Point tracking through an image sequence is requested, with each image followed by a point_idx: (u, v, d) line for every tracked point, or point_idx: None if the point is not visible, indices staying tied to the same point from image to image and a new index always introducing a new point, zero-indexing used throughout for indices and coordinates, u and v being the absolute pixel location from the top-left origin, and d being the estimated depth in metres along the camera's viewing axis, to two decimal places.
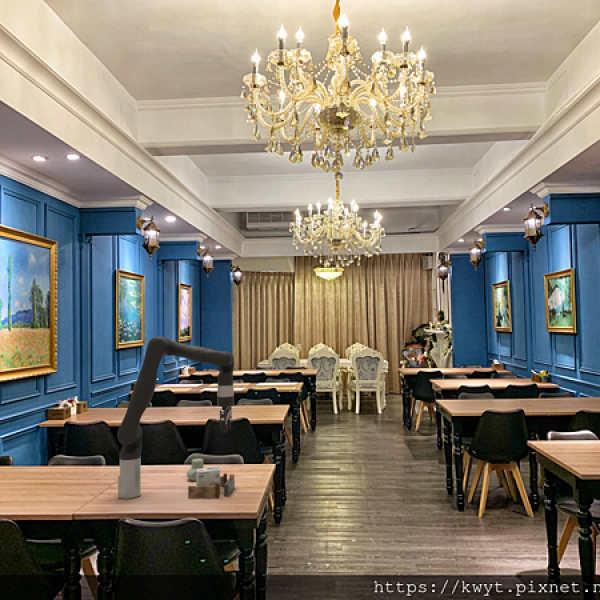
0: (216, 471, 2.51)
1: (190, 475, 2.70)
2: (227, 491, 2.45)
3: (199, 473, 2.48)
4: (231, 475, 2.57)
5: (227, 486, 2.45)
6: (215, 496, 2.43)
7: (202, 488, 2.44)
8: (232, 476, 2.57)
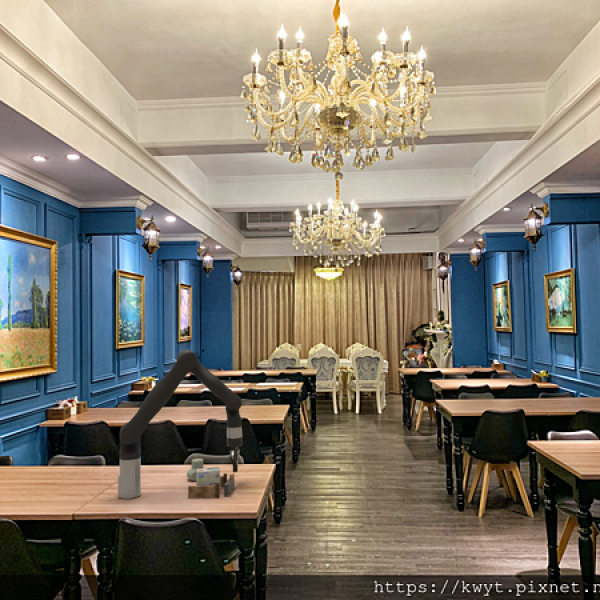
0: (216, 471, 2.51)
1: (190, 475, 2.70)
2: (227, 491, 2.45)
3: (199, 473, 2.48)
4: (231, 475, 2.57)
5: (227, 486, 2.45)
6: (215, 496, 2.43)
7: (202, 488, 2.44)
8: (232, 476, 2.57)
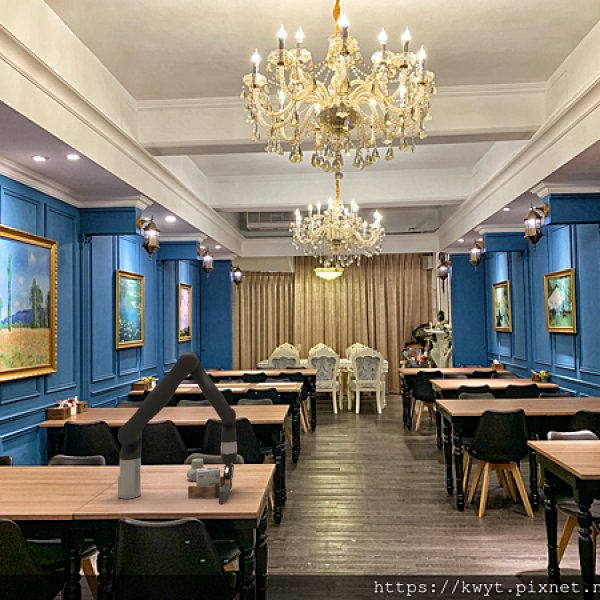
0: (216, 471, 2.51)
1: (190, 475, 2.70)
2: (222, 498, 2.34)
3: (199, 473, 2.48)
4: (226, 481, 2.47)
5: (222, 493, 2.35)
6: (215, 496, 2.43)
7: (202, 488, 2.44)
8: (227, 482, 2.47)
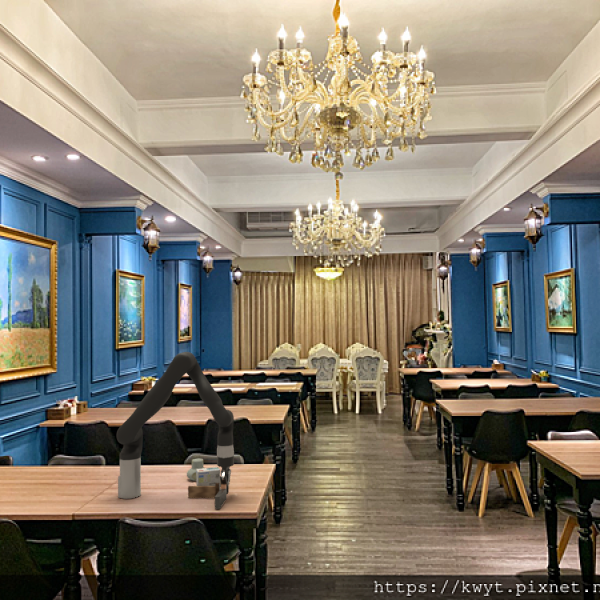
0: (216, 471, 2.51)
1: (190, 475, 2.70)
2: (218, 504, 2.27)
3: (199, 473, 2.48)
4: (223, 486, 2.39)
5: (218, 498, 2.27)
6: None
7: (202, 488, 2.44)
8: (224, 487, 2.39)
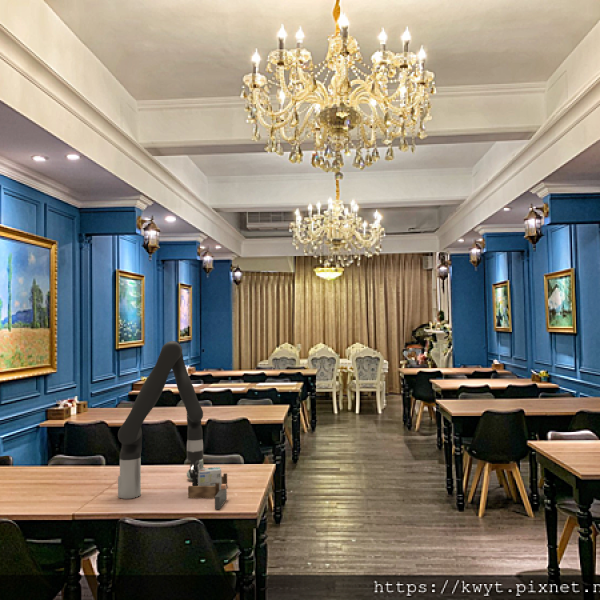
0: (217, 471, 2.51)
1: None
2: (218, 504, 2.27)
3: (200, 473, 2.48)
4: (223, 486, 2.39)
5: (218, 498, 2.27)
6: None
7: (202, 488, 2.44)
8: (224, 487, 2.39)
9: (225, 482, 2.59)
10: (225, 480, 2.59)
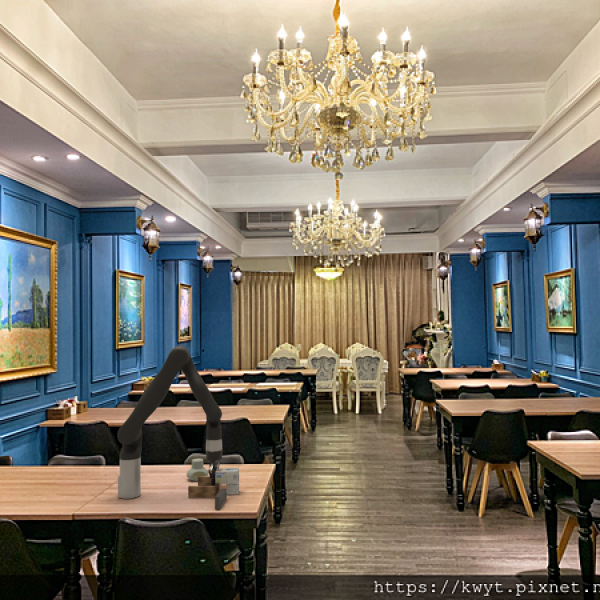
0: (234, 472, 2.48)
1: (190, 475, 2.70)
2: (218, 504, 2.27)
3: (217, 473, 2.48)
4: (223, 486, 2.39)
5: (218, 498, 2.27)
6: None
7: (202, 488, 2.44)
8: (224, 487, 2.39)
9: None
10: None
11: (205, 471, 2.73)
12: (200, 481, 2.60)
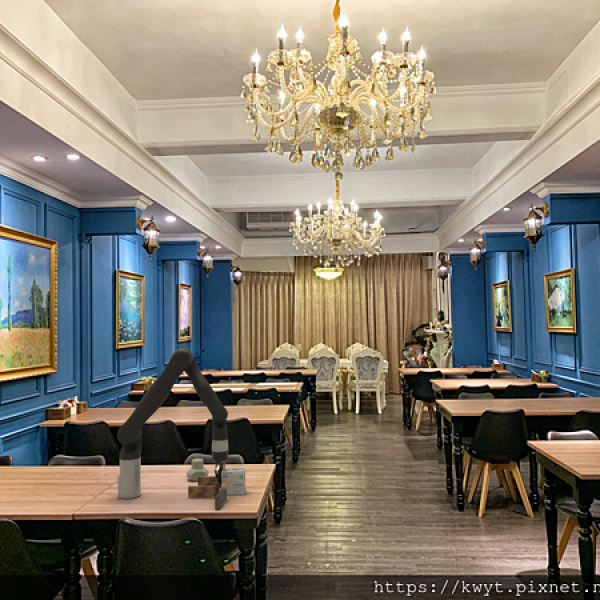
0: (240, 472, 2.48)
1: (190, 475, 2.70)
2: (218, 504, 2.27)
3: (223, 473, 2.47)
4: (223, 486, 2.39)
5: (218, 498, 2.27)
6: None
7: (202, 488, 2.44)
8: (224, 487, 2.39)
9: None
10: None
11: (205, 471, 2.73)
12: (200, 481, 2.60)
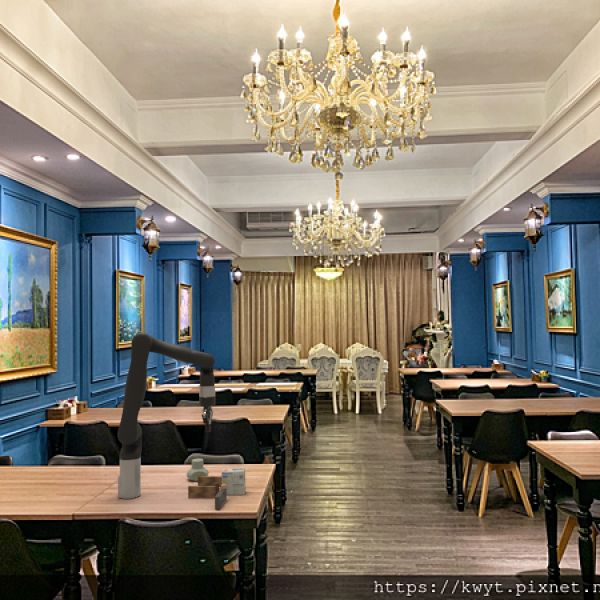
0: (240, 472, 2.48)
1: (190, 475, 2.70)
2: (218, 504, 2.27)
3: (223, 473, 2.47)
4: (223, 486, 2.39)
5: (218, 498, 2.27)
6: None
7: (202, 488, 2.44)
8: (224, 487, 2.39)
9: None
10: None
11: (205, 471, 2.73)
12: (200, 481, 2.60)
